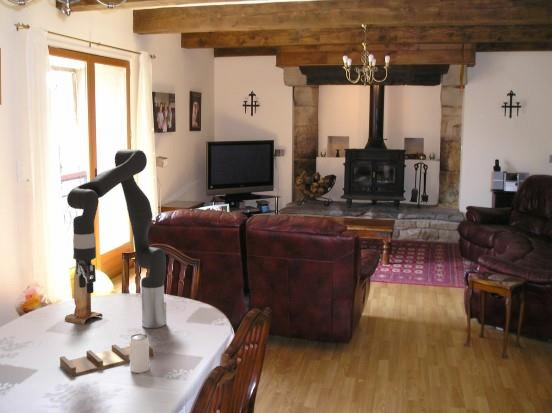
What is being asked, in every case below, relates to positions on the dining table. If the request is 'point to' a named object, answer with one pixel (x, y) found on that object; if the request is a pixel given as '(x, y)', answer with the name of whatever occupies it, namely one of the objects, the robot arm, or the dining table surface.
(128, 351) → the notch rack
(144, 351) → the can
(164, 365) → the dining table surface
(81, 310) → the bird sculpture
